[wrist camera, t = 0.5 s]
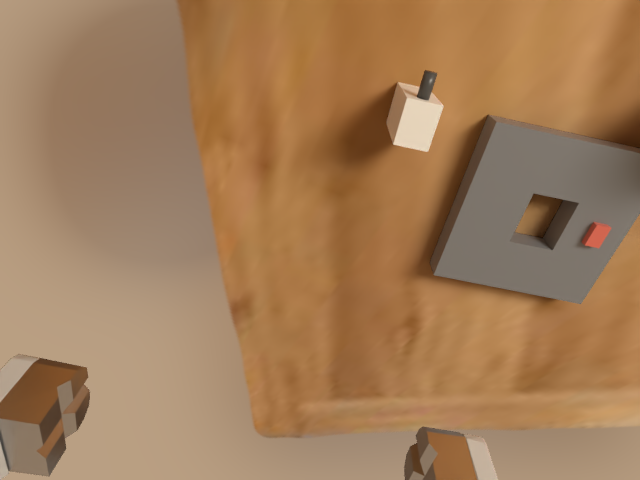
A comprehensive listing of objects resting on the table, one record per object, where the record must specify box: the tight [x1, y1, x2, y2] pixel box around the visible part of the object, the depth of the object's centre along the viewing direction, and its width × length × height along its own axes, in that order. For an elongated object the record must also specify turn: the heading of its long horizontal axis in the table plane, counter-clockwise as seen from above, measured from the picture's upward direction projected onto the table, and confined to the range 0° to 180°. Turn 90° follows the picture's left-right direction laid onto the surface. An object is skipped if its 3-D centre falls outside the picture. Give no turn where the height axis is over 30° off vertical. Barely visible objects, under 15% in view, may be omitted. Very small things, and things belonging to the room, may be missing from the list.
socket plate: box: [430, 115, 640, 304], centre depth 52 cm, size 20×20×4 cm
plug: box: [386, 70, 443, 152], centre depth 44 cm, size 7×4×8 cm, turn 169°
